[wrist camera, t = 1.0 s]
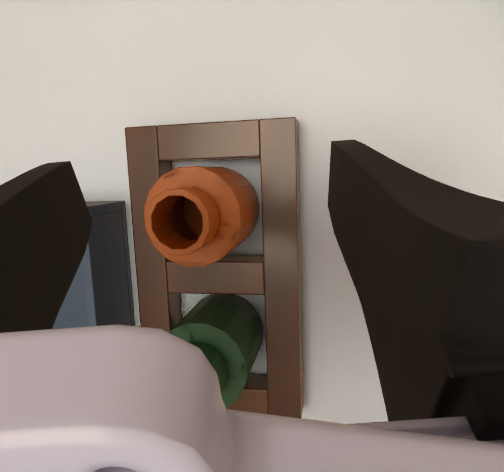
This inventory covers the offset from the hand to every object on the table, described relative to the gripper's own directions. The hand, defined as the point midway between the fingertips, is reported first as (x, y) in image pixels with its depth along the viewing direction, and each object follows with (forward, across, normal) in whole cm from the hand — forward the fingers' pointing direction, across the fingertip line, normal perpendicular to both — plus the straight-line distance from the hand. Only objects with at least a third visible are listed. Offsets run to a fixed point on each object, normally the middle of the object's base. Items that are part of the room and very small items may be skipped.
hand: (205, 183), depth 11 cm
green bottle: (+8, +1, +15) cm, 17 cm away
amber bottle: (+11, +1, +8) cm, 14 cm away
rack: (+10, +1, +12) cm, 15 cm away
